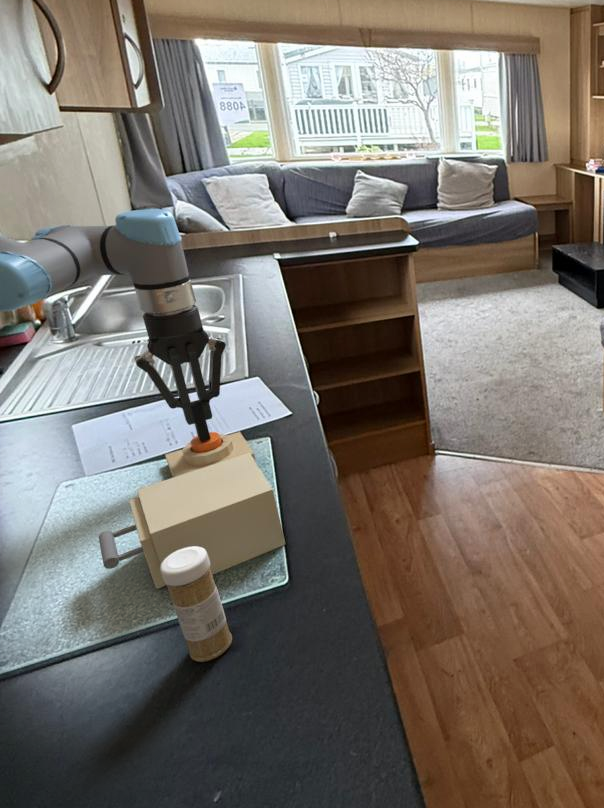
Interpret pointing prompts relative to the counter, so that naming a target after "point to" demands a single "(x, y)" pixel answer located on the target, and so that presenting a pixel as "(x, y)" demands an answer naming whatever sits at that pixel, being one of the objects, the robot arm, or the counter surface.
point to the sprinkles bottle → (196, 602)
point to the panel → (207, 455)
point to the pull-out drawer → (148, 548)
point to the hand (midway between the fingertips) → (204, 437)
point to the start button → (206, 443)
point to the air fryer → (214, 513)
